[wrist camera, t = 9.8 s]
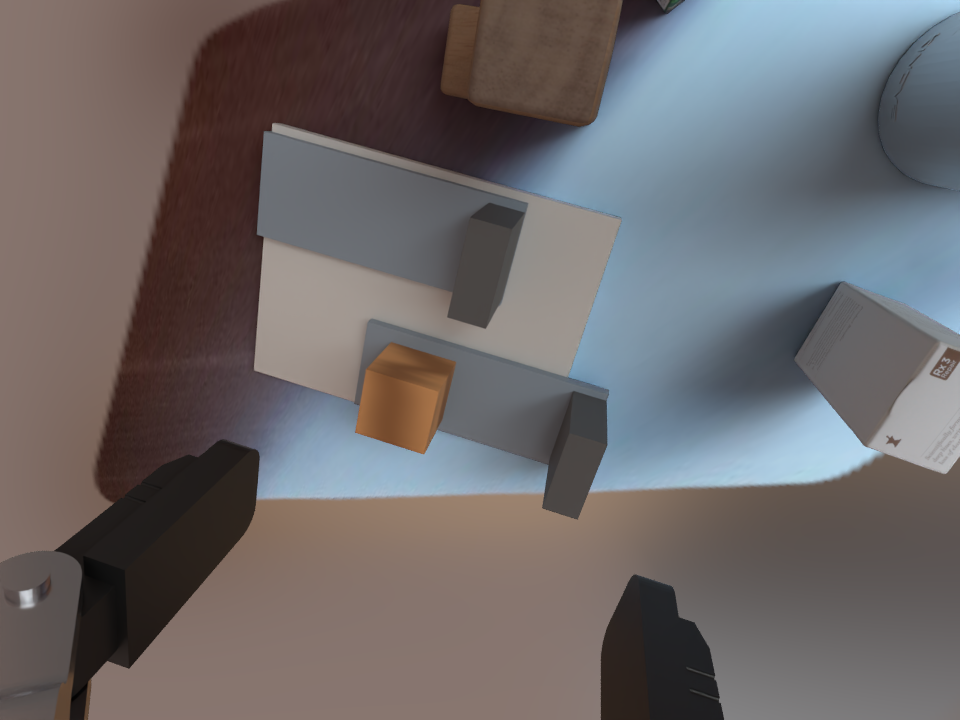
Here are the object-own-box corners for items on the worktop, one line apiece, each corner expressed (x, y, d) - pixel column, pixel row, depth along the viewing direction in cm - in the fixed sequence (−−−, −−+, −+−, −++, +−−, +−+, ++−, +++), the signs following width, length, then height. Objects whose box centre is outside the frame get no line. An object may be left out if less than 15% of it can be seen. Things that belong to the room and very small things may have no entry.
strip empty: (528, 202, 37) (514, 220, 31) (501, 302, 40) (483, 336, 34) (270, 131, 38) (207, 133, 32) (262, 232, 41) (203, 252, 35)
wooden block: (455, 95, 37) (339, 78, 20) (467, 15, 35) (350, -76, 18) (595, 123, 36) (591, 129, 19) (615, 42, 34) (629, -28, 17)
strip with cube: (608, 389, 41) (609, 438, 35) (578, 468, 44) (575, 525, 38) (371, 318, 42) (332, 352, 36) (358, 398, 45) (320, 443, 39)
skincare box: (851, 380, 39) (950, 484, 28) (787, 357, 39) (860, 452, 28) (906, 297, 36) (1040, 376, 25) (837, 274, 36) (939, 342, 25)
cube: (456, 361, 42) (438, 391, 37) (442, 419, 44) (424, 454, 39) (391, 342, 42) (365, 369, 37) (380, 400, 44) (355, 432, 39)
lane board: (621, 217, 37) (621, 220, 37) (540, 453, 45) (539, 460, 45) (280, 123, 39) (272, 123, 38) (260, 365, 47) (253, 370, 46)
